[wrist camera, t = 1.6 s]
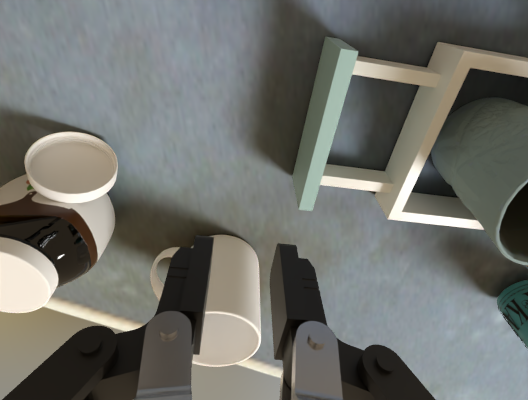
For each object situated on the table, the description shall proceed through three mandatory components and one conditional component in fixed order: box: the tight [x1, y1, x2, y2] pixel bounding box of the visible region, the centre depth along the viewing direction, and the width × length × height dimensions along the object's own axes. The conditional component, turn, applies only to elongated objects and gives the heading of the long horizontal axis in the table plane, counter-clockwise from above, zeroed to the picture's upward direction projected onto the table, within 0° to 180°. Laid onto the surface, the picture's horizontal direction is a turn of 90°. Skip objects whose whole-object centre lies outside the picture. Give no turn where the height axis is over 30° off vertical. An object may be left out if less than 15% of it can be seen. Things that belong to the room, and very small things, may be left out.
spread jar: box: [0, 131, 118, 313], centre depth 28 cm, size 12×11×12 cm
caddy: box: [292, 36, 528, 230], centre depth 29 cm, size 15×24×6 cm, turn 81°
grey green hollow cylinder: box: [431, 97, 528, 265], centre depth 27 cm, size 10×10×12 cm
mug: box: [150, 235, 261, 366], centre depth 34 cm, size 9×12×11 cm
